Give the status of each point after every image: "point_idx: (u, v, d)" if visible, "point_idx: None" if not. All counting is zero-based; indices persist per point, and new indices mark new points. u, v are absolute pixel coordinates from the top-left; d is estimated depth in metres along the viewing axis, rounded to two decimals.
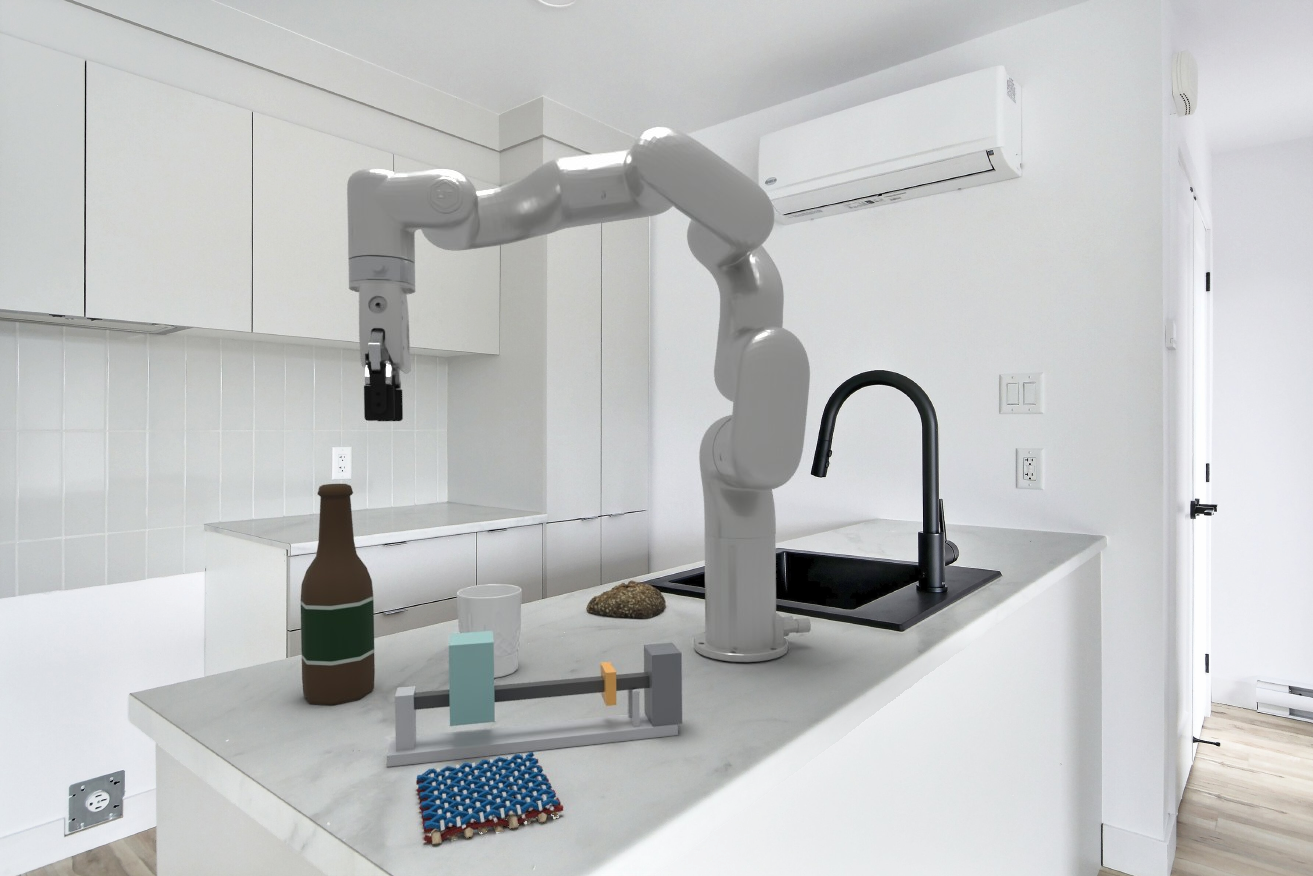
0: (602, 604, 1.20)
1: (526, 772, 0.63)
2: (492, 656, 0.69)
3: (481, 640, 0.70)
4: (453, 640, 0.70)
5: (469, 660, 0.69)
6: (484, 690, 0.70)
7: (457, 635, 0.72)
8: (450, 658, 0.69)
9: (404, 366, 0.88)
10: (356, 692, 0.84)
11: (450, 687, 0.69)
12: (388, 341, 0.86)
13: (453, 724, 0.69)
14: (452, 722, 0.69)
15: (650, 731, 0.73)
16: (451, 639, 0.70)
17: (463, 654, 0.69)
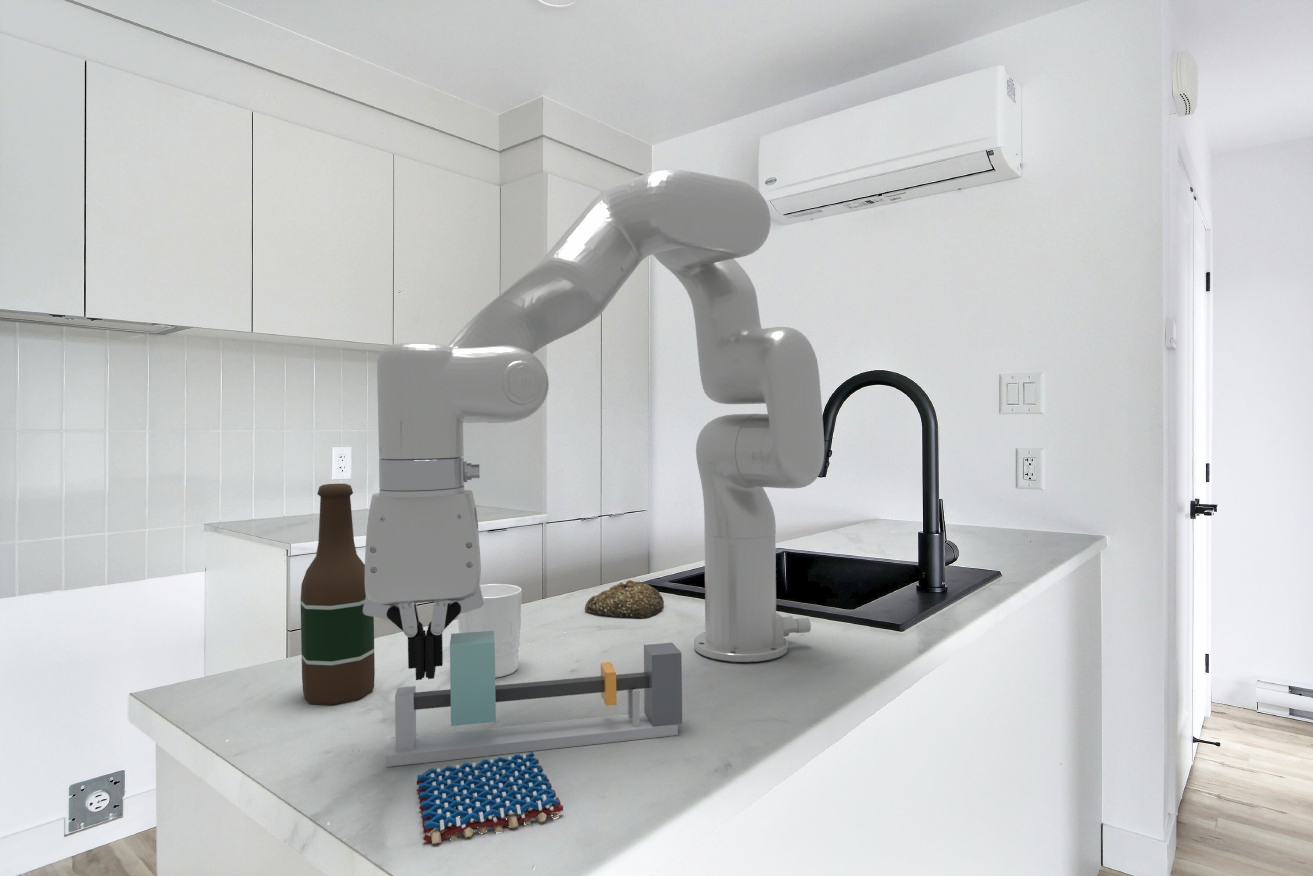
0: (600, 603, 1.20)
1: (526, 772, 0.63)
2: (493, 656, 0.70)
3: (482, 640, 0.70)
4: (454, 640, 0.70)
5: (470, 659, 0.69)
6: (485, 690, 0.70)
7: (458, 635, 0.72)
8: (451, 658, 0.69)
9: None
10: (356, 692, 0.84)
11: (451, 687, 0.69)
12: None
13: (454, 724, 0.69)
14: (453, 722, 0.69)
15: (650, 731, 0.73)
16: (452, 639, 0.71)
17: (464, 654, 0.69)
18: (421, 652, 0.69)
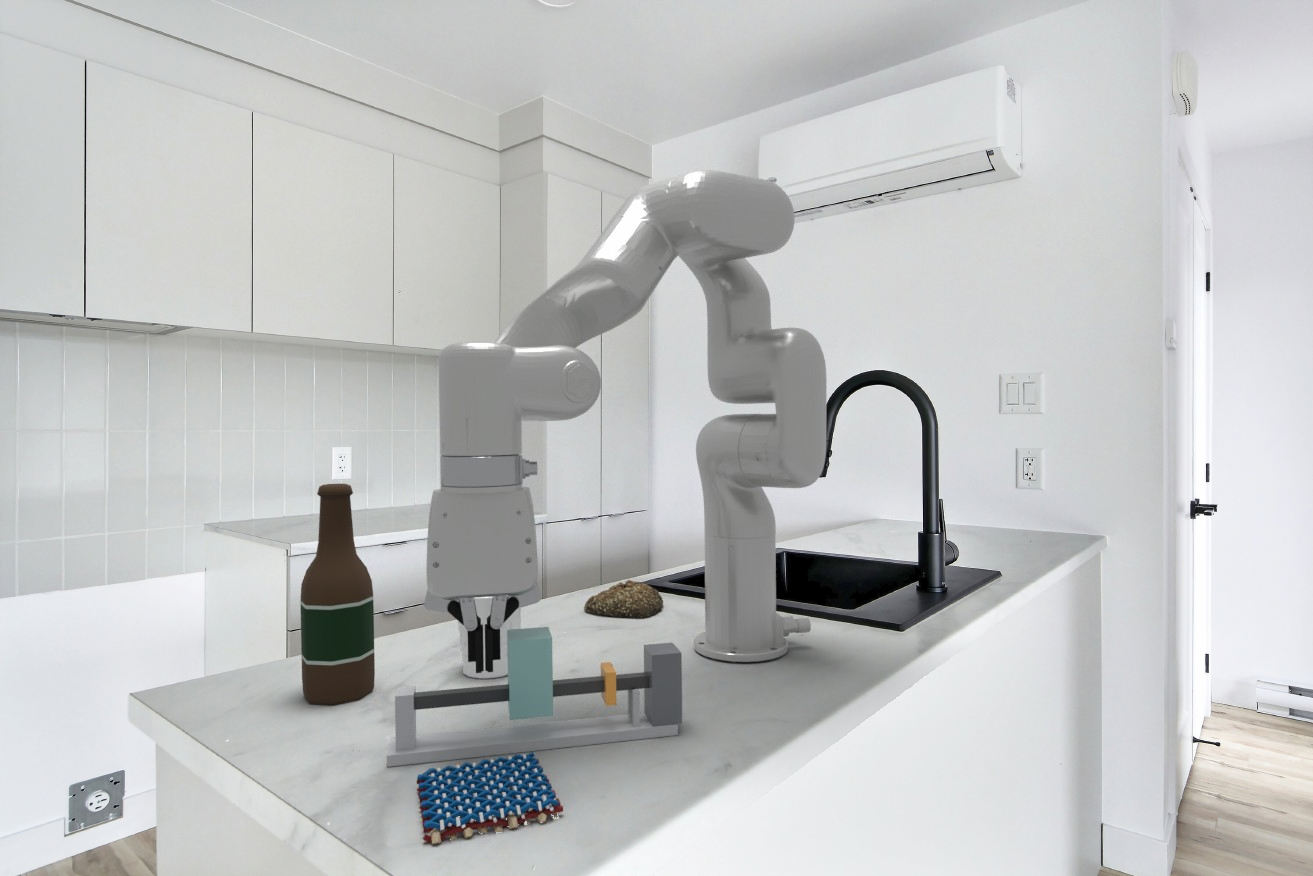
0: (600, 603, 1.20)
1: (526, 772, 0.63)
2: (550, 651, 0.71)
3: (539, 635, 0.71)
4: (512, 636, 0.71)
5: (528, 655, 0.70)
6: (543, 685, 0.71)
7: (514, 631, 0.73)
8: (510, 653, 0.70)
9: None
10: (356, 692, 0.84)
11: (510, 682, 0.70)
12: None
13: (513, 718, 0.70)
14: (511, 716, 0.70)
15: (650, 731, 0.73)
16: (509, 635, 0.72)
17: (523, 649, 0.70)
18: (481, 646, 0.70)
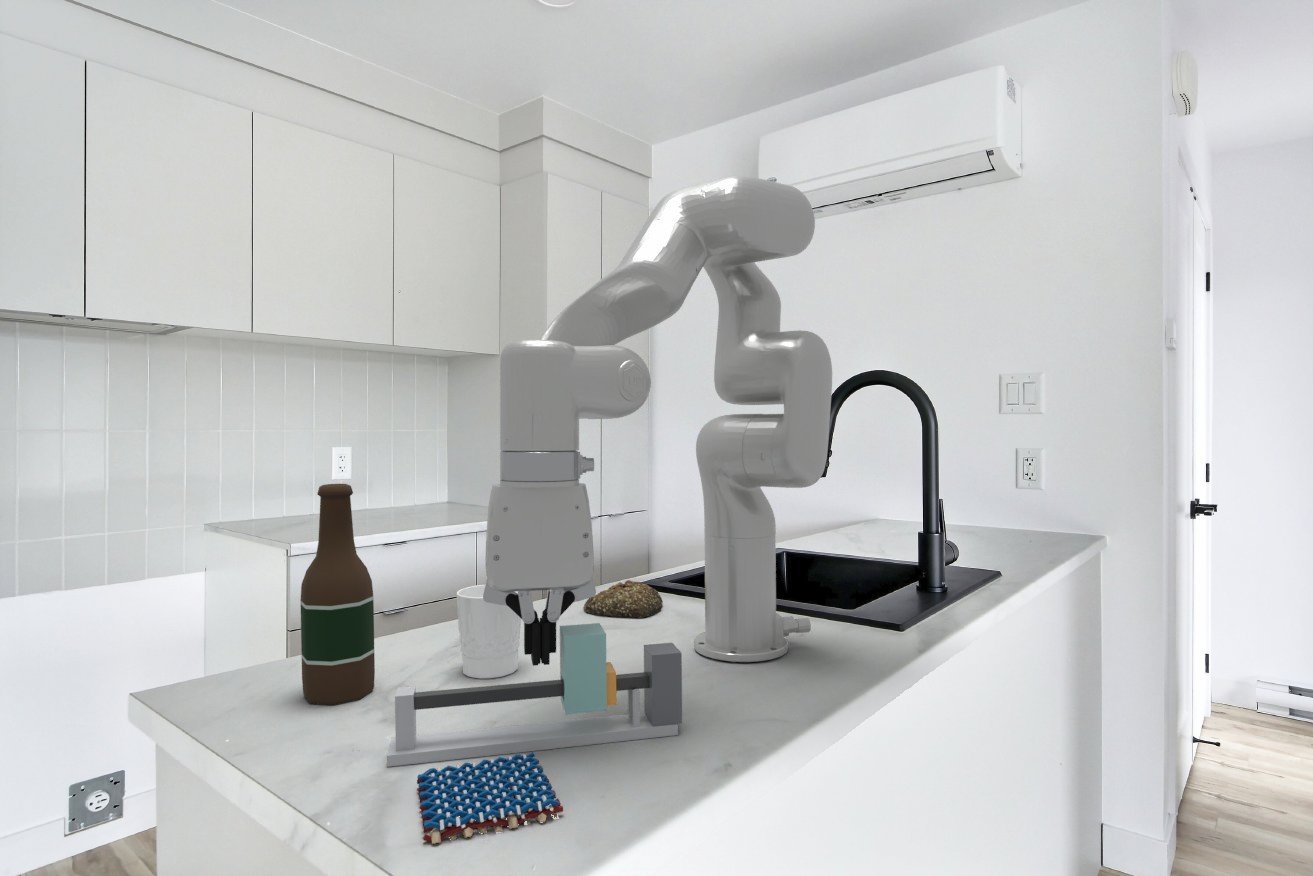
0: (599, 603, 1.21)
1: (526, 772, 0.63)
2: (604, 647, 0.72)
3: (593, 631, 0.73)
4: (566, 631, 0.73)
5: (583, 650, 0.71)
6: (597, 680, 0.72)
7: (567, 627, 0.74)
8: (565, 649, 0.71)
9: None
10: (356, 692, 0.84)
11: (565, 677, 0.71)
12: None
13: (568, 713, 0.71)
14: (567, 711, 0.71)
15: (650, 731, 0.73)
16: (563, 631, 0.73)
17: (577, 645, 0.71)
18: (538, 638, 0.71)
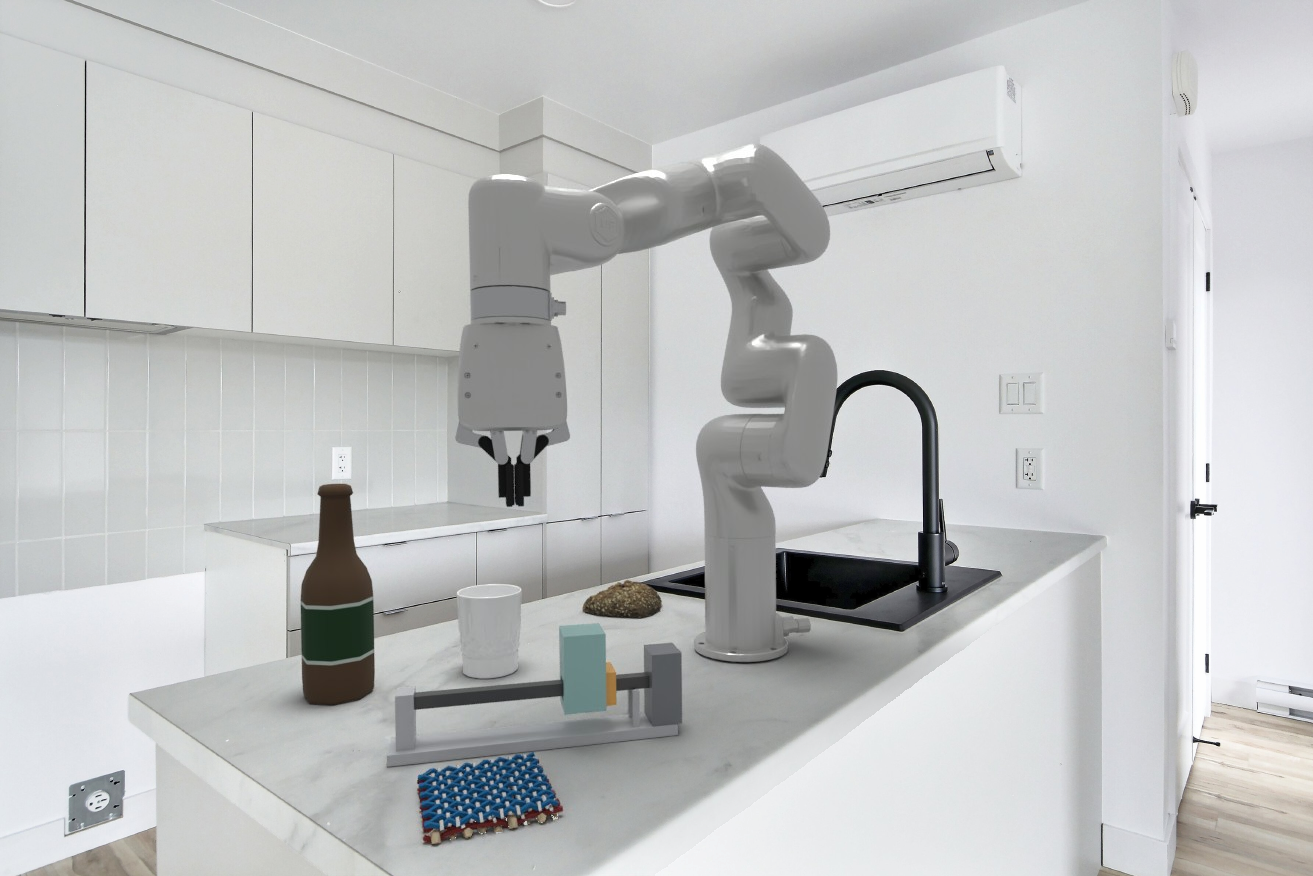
0: (598, 603, 1.21)
1: (526, 772, 0.63)
2: (604, 647, 0.72)
3: (592, 631, 0.73)
4: (566, 632, 0.73)
5: (582, 650, 0.71)
6: (596, 680, 0.72)
7: (567, 627, 0.74)
8: (565, 649, 0.71)
9: None
10: (356, 692, 0.84)
11: (565, 677, 0.71)
12: None
13: (567, 713, 0.71)
14: (566, 711, 0.71)
15: (650, 731, 0.73)
16: (563, 631, 0.73)
17: (577, 645, 0.71)
18: (512, 479, 0.70)
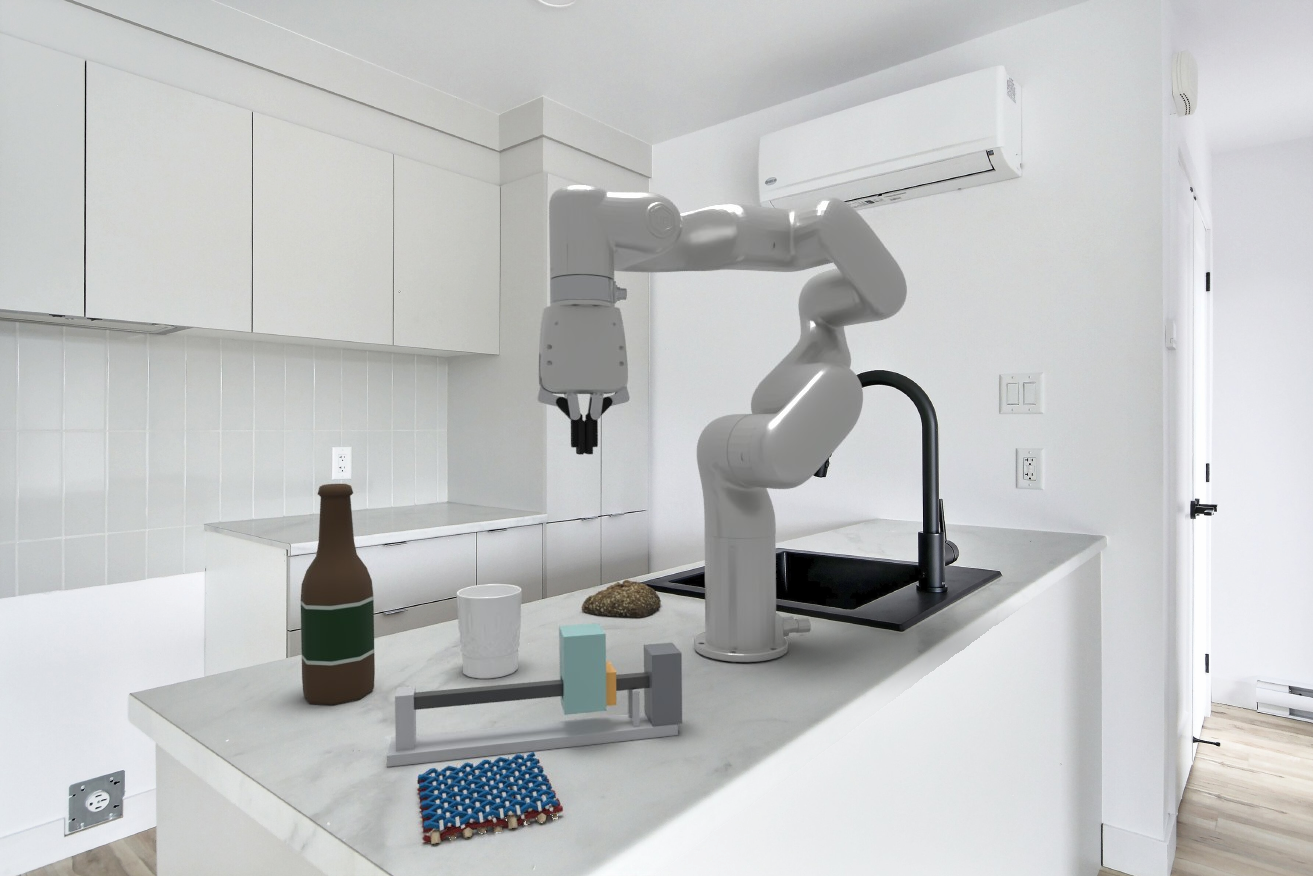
0: (597, 603, 1.21)
1: (527, 772, 0.63)
2: (604, 647, 0.72)
3: (592, 631, 0.73)
4: (566, 632, 0.73)
5: (582, 650, 0.71)
6: (596, 680, 0.72)
7: (567, 627, 0.74)
8: (565, 649, 0.71)
9: None
10: (356, 692, 0.84)
11: (565, 677, 0.71)
12: None
13: (567, 713, 0.71)
14: (566, 711, 0.71)
15: (650, 731, 0.73)
16: (563, 631, 0.73)
17: (577, 645, 0.71)
18: (583, 432, 0.87)
